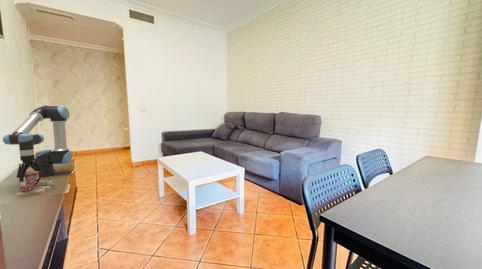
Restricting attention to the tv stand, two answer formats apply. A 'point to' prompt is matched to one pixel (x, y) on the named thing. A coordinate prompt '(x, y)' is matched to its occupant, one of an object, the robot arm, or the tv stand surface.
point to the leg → (44, 182)
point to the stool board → (43, 189)
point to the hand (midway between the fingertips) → (30, 182)
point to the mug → (29, 181)
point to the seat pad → (33, 190)
